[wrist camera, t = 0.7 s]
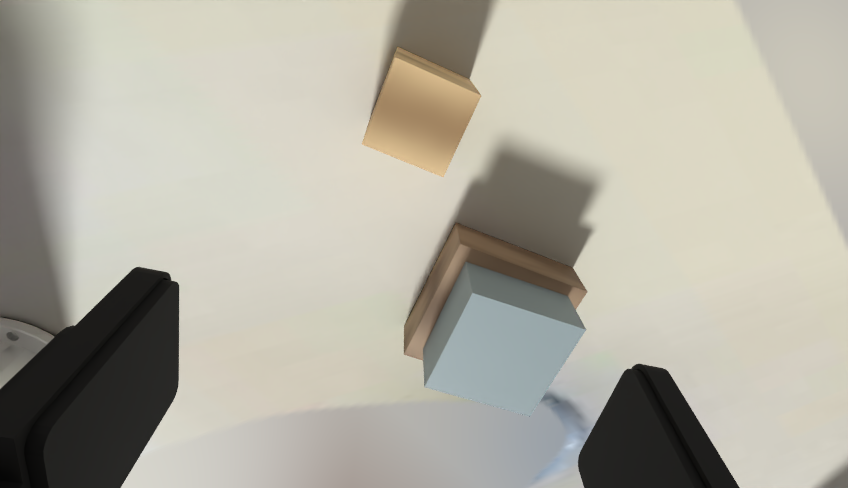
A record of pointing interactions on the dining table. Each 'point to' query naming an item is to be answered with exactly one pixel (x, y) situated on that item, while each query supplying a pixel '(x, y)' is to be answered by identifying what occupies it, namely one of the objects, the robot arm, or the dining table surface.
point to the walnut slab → (491, 256)
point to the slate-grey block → (500, 340)
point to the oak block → (421, 112)
